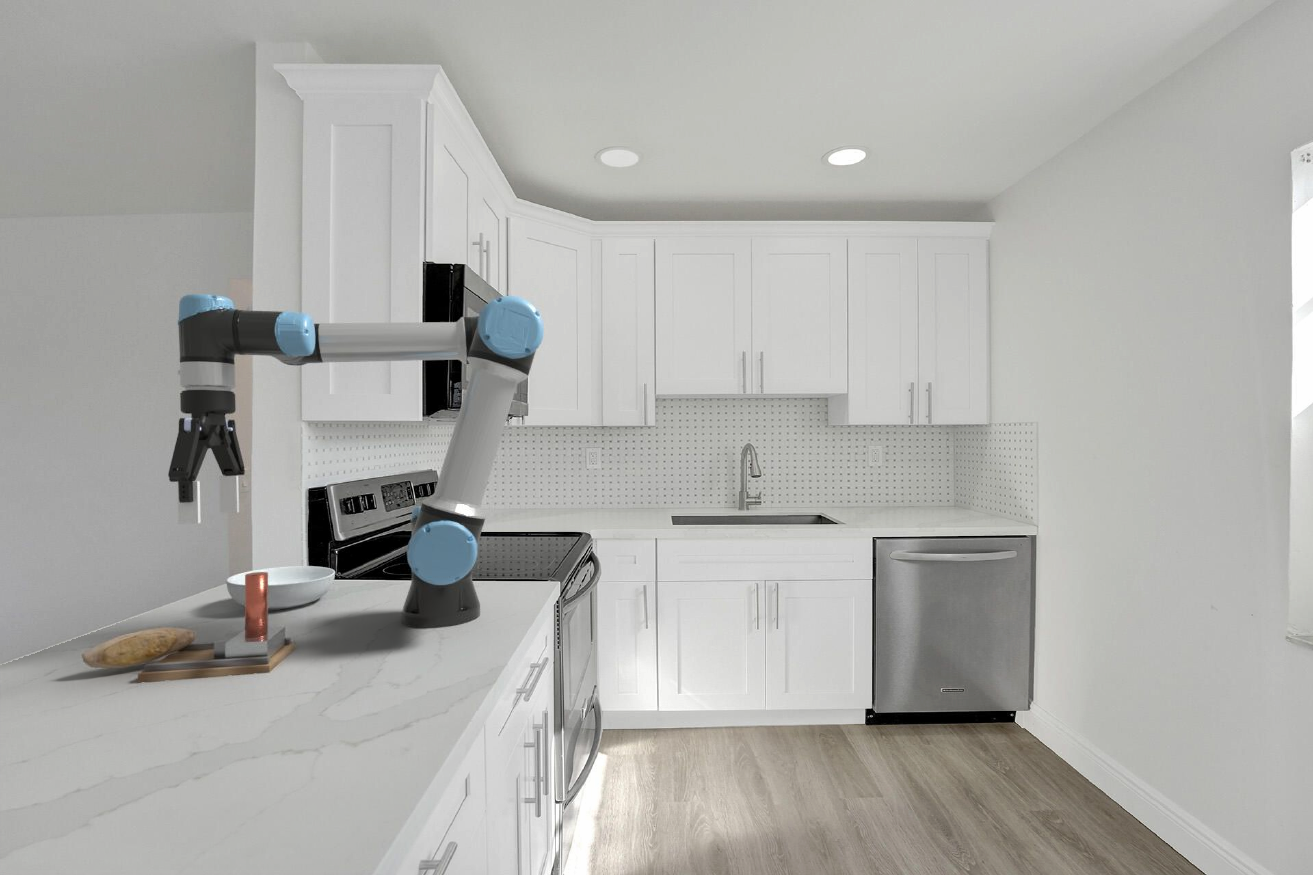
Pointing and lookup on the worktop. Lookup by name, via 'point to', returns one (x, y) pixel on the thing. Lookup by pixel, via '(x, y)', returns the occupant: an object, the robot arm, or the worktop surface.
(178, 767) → the worktop surface
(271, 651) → the copper peg on base
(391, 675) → the worktop surface
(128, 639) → the tan elongated oval piece
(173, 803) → the worktop surface
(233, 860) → the worktop surface
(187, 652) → the railed wooden base plate
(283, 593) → the serving bowl
